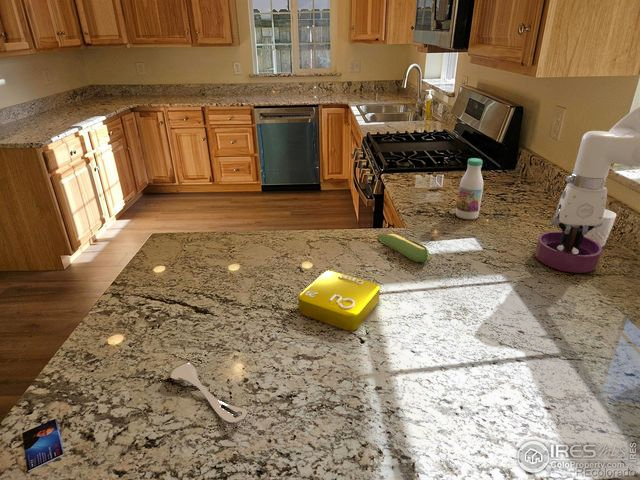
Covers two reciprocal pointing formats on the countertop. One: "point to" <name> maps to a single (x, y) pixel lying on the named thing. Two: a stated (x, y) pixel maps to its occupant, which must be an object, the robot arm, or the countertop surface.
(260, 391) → the countertop surface
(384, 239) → the edible corn
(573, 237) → the dish brush
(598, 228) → the white cup
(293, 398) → the countertop surface
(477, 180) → the milk bottle
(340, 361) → the countertop surface
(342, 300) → the element tile
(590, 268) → the bowl
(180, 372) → the white kitchen utensil
